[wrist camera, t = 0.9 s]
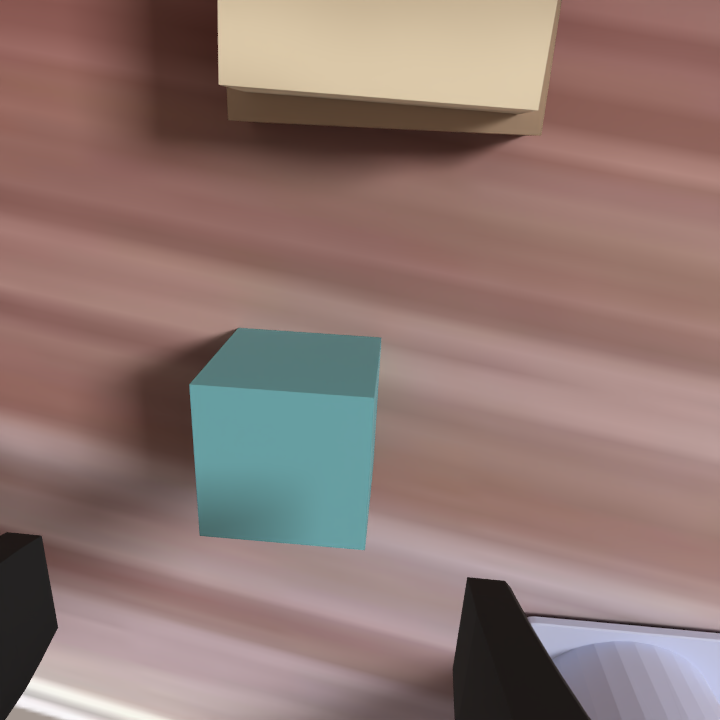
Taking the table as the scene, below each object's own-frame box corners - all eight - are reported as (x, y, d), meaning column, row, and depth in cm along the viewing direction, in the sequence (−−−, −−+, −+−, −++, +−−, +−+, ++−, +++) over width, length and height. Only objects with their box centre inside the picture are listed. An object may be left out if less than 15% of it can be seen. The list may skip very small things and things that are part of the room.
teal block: (373, 461, 20) (364, 550, 15) (243, 451, 20) (199, 535, 16) (381, 336, 18) (374, 397, 14) (239, 327, 18) (189, 384, 14)
